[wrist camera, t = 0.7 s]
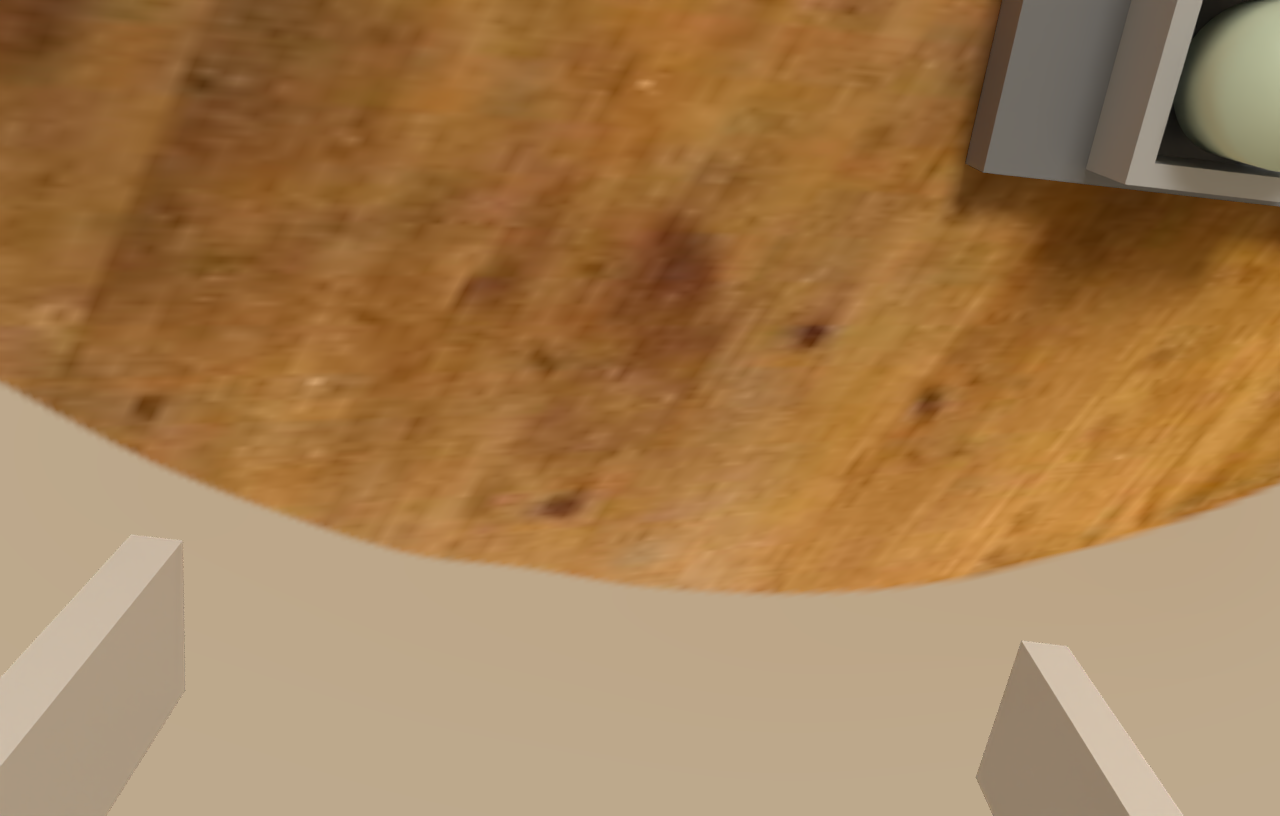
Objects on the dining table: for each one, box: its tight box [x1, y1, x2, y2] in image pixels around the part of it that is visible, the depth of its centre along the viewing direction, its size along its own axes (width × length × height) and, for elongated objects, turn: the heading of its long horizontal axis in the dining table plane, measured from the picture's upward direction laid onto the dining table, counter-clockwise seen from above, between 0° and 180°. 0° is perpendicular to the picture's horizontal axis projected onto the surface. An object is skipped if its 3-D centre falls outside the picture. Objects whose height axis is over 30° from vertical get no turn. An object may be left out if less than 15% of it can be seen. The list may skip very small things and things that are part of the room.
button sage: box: [1173, 0, 1280, 172], centre depth 31 cm, size 5×5×3 cm
